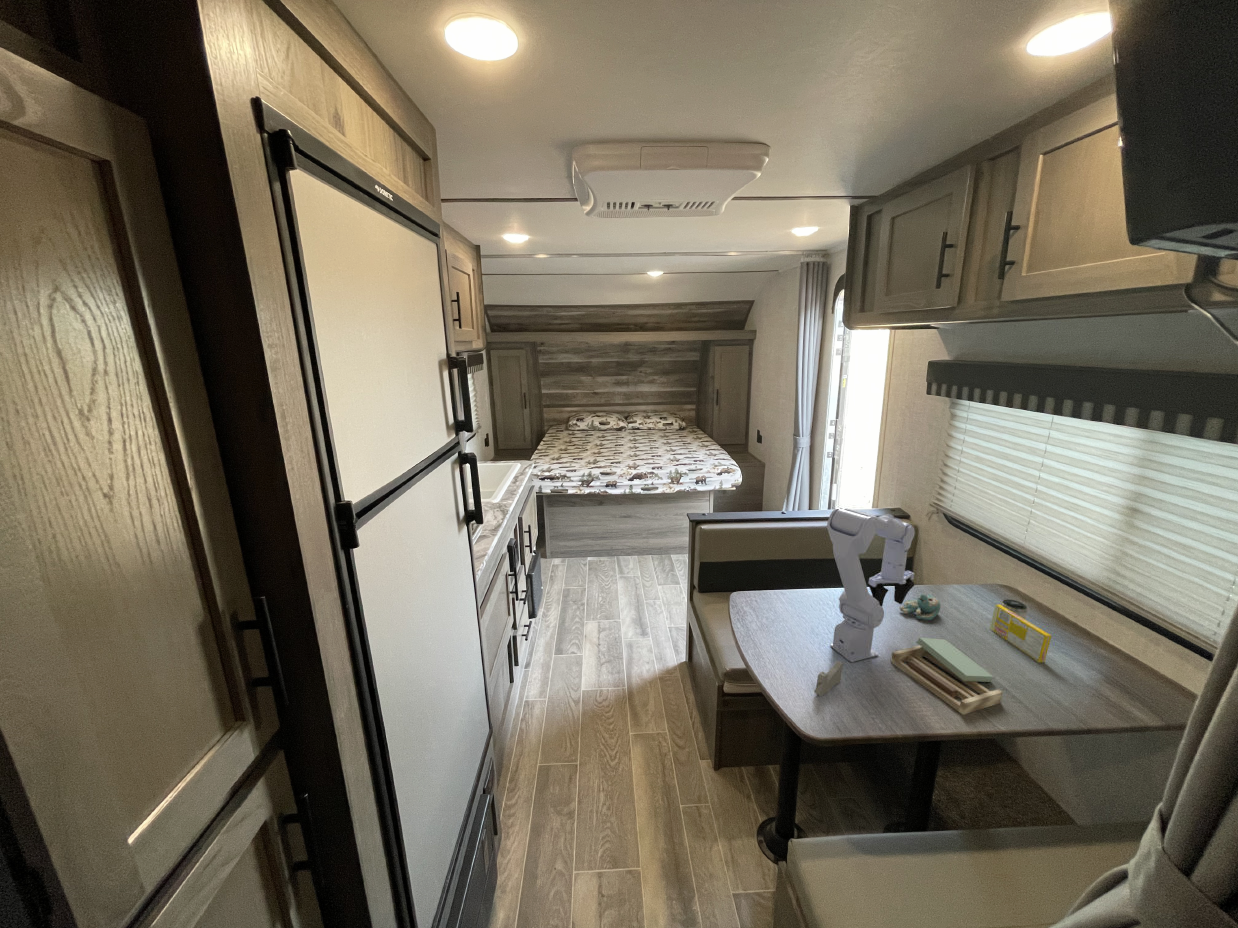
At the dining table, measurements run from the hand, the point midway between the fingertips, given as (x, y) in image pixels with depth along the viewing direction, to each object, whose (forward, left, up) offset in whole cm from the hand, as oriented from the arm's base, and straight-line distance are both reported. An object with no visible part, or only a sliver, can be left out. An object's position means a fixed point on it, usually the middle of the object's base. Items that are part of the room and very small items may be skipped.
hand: (887, 604), depth 140 cm
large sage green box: (+9, -18, -8) cm, 22 cm away
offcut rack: (-2, -21, -9) cm, 23 cm away
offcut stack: (-6, -21, -10) cm, 24 cm away
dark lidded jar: (+39, -9, -10) cm, 41 cm away
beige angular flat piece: (-33, -14, -10) cm, 37 cm away
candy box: (+31, -16, -10) cm, 36 cm away
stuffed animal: (+20, +5, -10) cm, 23 cm away
